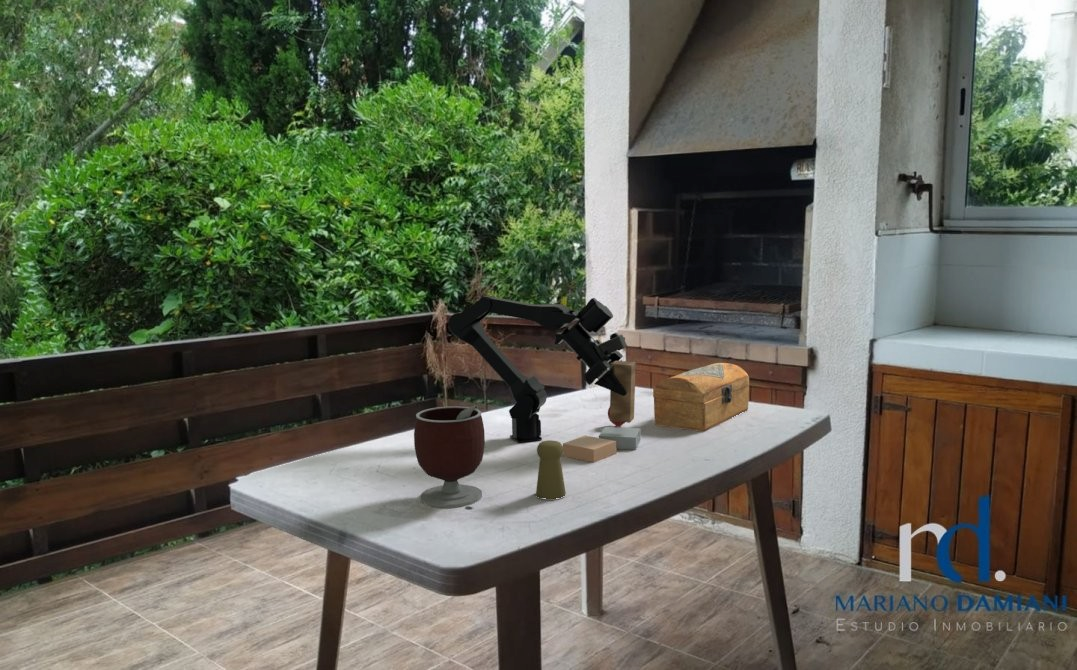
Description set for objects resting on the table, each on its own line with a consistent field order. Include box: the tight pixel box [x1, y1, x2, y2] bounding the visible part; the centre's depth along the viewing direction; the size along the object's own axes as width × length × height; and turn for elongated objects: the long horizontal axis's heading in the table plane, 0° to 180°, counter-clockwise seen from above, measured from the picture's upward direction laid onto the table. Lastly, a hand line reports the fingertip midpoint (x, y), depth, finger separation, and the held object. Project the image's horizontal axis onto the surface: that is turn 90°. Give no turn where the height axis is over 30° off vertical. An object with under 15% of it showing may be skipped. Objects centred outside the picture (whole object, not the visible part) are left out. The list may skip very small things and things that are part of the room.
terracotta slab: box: [562, 435, 617, 463], centre depth 185 cm, size 9×9×3 cm
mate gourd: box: [413, 404, 486, 509], centre depth 155 cm, size 16×14×20 cm
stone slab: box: [598, 426, 642, 451], centre depth 193 cm, size 9×9×3 cm
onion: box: [607, 406, 626, 428], centre depth 210 cm, size 6×6×8 cm
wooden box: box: [652, 362, 750, 433], centre depth 219 cm, size 30×16×14 cm, turn 142°
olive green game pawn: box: [535, 439, 567, 499], centre depth 156 cm, size 6×6×11 cm
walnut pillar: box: [609, 360, 637, 424], centre depth 190 cm, size 5×5×14 cm
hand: (627, 392), depth 190 cm, fingers closed on walnut pillar, 5 cm apart
